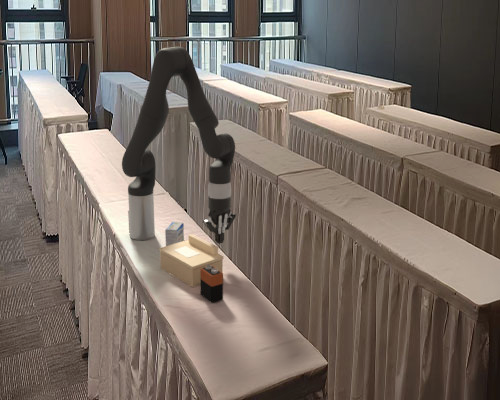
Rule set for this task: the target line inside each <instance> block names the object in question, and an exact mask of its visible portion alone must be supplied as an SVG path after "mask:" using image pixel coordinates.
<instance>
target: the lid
mask: <svg viewBox="0 0 500 400" xmlns="http://www.w3.org/2000/svg"><path fill="white" fill-rule="evenodd" d="M158 250H159V253H160V252H162V253H164V254H166V255H167V256H169V257H171V258H173V259H175V260H176V261H178V262H180V263H182V264H183V265H185V266H187V267H189V268H190V269H192V270H193V269H196V268H199V267H202V266H205V265H208V264H211V263H214V262H217V261H220V260H223V261H224V255H222V254H219V246H218V245H216V244H213V243H211V242H209V241H207V240H205V239H203V238H201V237H199V236H197V235H195V234H194V233H193V234H188V239H186V240H185V239H184V241H182V242H179V243H175V244H172V245H169V246H166V245H165V246H162V247H159V249H158Z"/></svg>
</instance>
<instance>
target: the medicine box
mask: <svg viewBox="0 0 500 400" xmlns="http://www.w3.org/2000/svg"><path fill="white" fill-rule="evenodd" d="M184 227H185V226H184V222H177V221H172V222H171V223H170V224H169V225H168V227H166V228H165V229H164V230H165V232H164V233H165V246H169V245H172V244H175V243H179V242H182V241H185V235H184V233H185V231H184V229H185V228H184Z"/></svg>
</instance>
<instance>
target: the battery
mask: <svg viewBox="0 0 500 400" xmlns="http://www.w3.org/2000/svg"><path fill="white" fill-rule="evenodd" d="M200 272H201V285H200V295H201V296H202V298H204V299H206V300H207V301H208V302H210V303H211V304H212V303H216V302H217V303H218V302H220V301H222V300H224V273H223V271H222V272H221V271H219V270H218V269H216V268H215V267H213V266H211V265H207V266H206V267H204V268H201V270H200Z"/></svg>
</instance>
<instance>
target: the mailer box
mask: <svg viewBox="0 0 500 400" xmlns="http://www.w3.org/2000/svg"><path fill="white" fill-rule="evenodd" d="M159 253H160V255H159V257H160V269H161V270H163V271H165V272H166V273H168V274H170V275H171V276H172V277H174V278H177V279H178V280H179V281H181V282H183V283H185V284H187V285H188V286H190V287H192V288H195V287H197V286H201V272H200V270H201V268H204V267H206V266H207V265H205V266H202V267H199V268H196V269H193V270H192V269H190V268H189V267H187V266H185V265H183V264H182V263H180V262H178V261H176V260H175V259H173V258H171V257H169V256H167V255H166V254H164V253H162V252H160V251H159ZM223 262H224V259H223V260H220V261H217V262H214V263H211V264H208V265H211V266H213V267H215V268H216V269H218V270H219V271H221V272H222V273H223Z"/></svg>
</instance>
